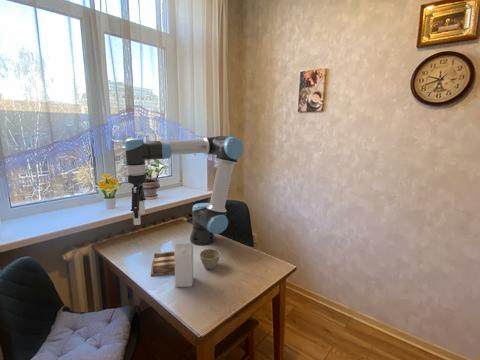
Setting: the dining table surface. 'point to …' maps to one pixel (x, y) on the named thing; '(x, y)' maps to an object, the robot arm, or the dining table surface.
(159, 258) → the display stand
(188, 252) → the milk carton
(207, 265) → the flower pot
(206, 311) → the dining table surface
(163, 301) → the dining table surface
